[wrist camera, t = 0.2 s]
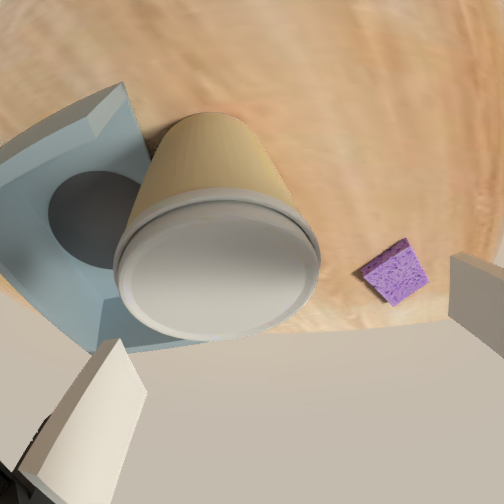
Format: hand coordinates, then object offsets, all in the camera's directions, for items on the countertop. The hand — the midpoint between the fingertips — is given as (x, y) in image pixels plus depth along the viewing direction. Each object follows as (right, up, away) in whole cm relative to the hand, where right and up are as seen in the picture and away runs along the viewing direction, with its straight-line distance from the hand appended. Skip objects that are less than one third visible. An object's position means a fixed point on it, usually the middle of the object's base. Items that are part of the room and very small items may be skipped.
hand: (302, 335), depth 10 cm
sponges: (+18, +1, +26) cm, 32 cm away
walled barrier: (-15, +5, +13) cm, 20 cm away
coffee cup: (-5, +10, +11) cm, 15 cm away
